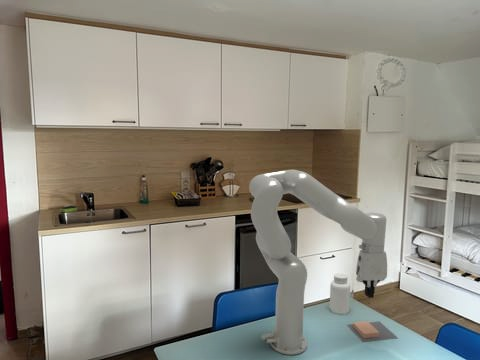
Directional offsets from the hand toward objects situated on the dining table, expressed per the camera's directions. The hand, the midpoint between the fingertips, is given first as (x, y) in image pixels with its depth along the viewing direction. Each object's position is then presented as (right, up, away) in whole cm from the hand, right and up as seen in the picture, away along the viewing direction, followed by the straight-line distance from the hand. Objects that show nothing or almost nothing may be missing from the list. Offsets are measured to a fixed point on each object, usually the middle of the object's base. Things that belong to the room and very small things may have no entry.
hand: (369, 296), depth 135 cm
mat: (+2, -14, +2) cm, 14 cm away
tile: (+2, -13, +2) cm, 13 cm away
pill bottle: (-6, -12, +19) cm, 23 cm away
